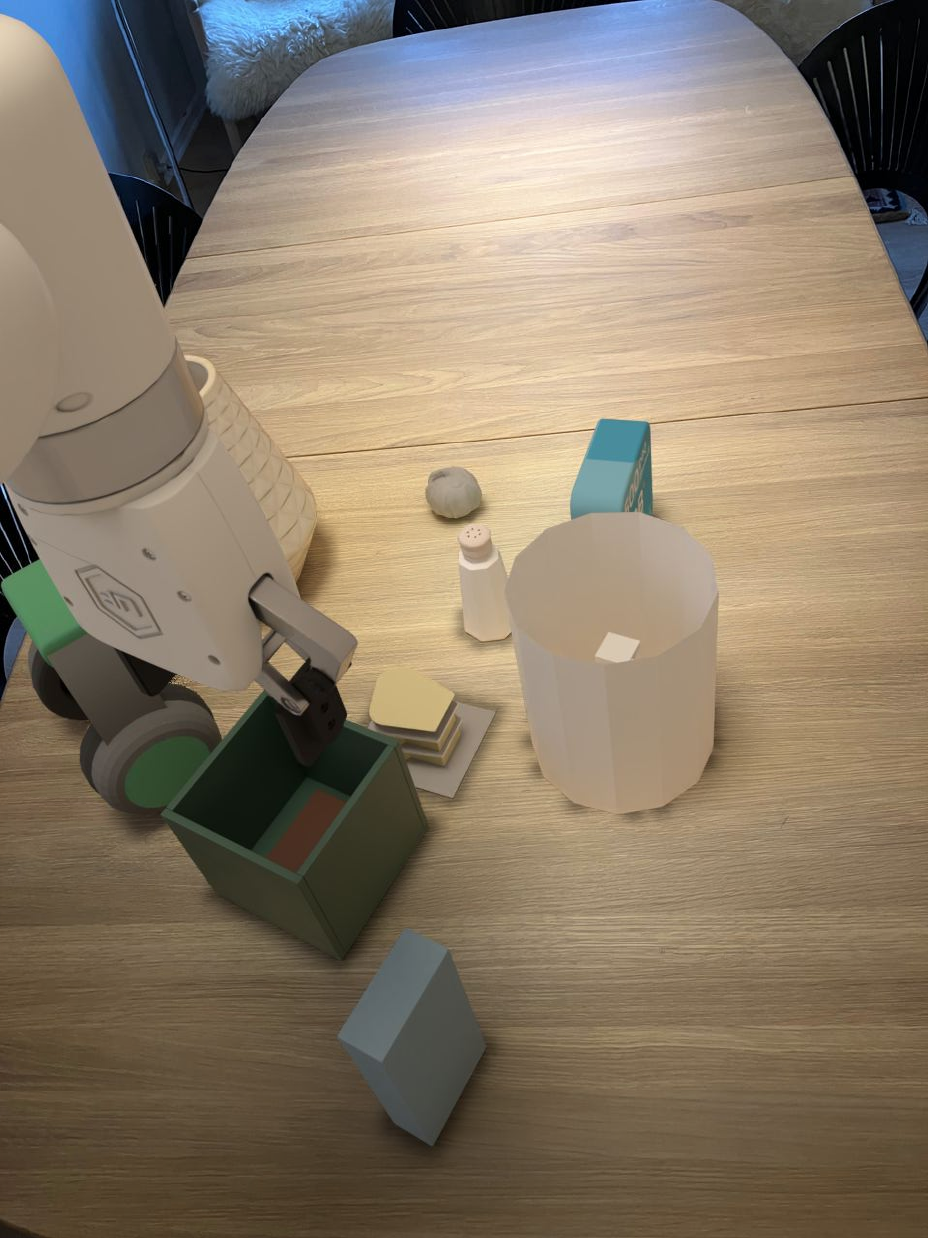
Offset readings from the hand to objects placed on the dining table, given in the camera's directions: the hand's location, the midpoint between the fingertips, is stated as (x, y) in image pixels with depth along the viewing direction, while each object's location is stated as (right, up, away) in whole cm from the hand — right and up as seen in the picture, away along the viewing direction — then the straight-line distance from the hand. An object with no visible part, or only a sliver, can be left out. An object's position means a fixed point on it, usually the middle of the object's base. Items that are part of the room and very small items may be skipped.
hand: (243, 706), depth 49 cm
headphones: (-17, -7, +42) cm, 46 cm away
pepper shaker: (+13, +4, +45) cm, 47 cm away
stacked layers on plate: (+7, -6, +38) cm, 39 cm away
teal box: (+25, +10, +49) cm, 56 cm away
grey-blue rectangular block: (+9, -26, +18) cm, 33 cm away
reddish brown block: (-1, -14, +31) cm, 34 cm away
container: (+23, -5, +35) cm, 42 cm away
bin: (0, -15, +31) cm, 34 cm away
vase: (-11, +8, +55) cm, 57 cm away
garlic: (+10, +15, +57) cm, 59 cm away
